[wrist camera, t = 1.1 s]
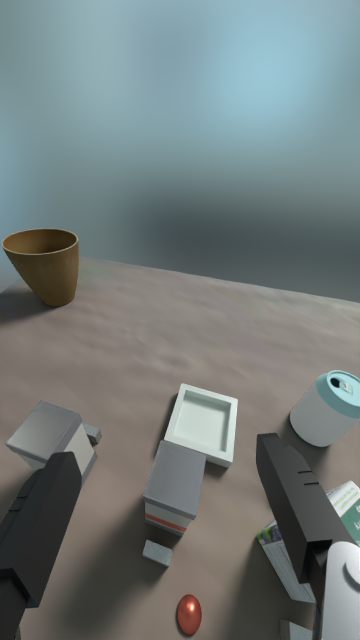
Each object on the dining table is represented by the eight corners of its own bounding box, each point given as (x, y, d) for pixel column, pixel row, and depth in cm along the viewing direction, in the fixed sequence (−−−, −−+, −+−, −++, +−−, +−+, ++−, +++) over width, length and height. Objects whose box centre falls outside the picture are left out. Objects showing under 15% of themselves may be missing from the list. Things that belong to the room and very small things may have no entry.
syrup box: (286, 508, 30) (349, 474, 20) (326, 567, 26) (426, 558, 16) (254, 535, 27) (308, 511, 18) (292, 605, 24) (387, 619, 14)
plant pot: (26, 321, 52) (-5, 257, 42) (29, 288, 62) (5, 229, 52) (93, 309, 57) (80, 249, 47) (86, 280, 67) (74, 226, 57)
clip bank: (11, 552, 25) (1, 549, 23) (90, 420, 36) (87, 413, 34) (316, 693, 20) (331, 703, 18) (295, 490, 31) (303, 485, 30)
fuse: (45, 483, 30) (4, 443, 21) (68, 446, 33) (40, 400, 25) (77, 495, 29) (47, 459, 20) (97, 456, 32) (78, 412, 24)
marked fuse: (145, 522, 27) (142, 495, 19) (158, 478, 31) (160, 440, 23) (182, 537, 27) (196, 516, 18) (191, 490, 30) (206, 455, 22)
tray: (163, 446, 34) (163, 439, 33) (180, 391, 42) (181, 383, 40) (228, 468, 33) (232, 462, 31) (234, 406, 40) (237, 399, 38)
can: (301, 450, 35) (343, 412, 28) (281, 408, 41) (312, 366, 33) (340, 446, 36) (392, 410, 29) (316, 406, 42) (354, 365, 34)
